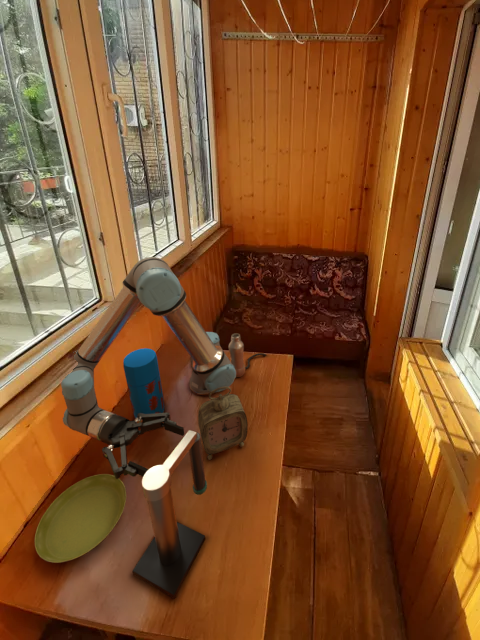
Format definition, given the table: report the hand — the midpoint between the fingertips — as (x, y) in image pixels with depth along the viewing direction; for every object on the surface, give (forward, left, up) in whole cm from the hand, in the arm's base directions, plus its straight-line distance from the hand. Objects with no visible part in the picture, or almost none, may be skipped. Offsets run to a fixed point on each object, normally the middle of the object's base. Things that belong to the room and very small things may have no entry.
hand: (167, 451), depth 86 cm
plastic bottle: (-44, -25, -16) cm, 53 cm away
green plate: (+20, -10, -16) cm, 28 cm away
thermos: (-8, -33, -16) cm, 37 cm away
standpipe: (+8, +14, -16) cm, 23 cm away
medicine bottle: (-37, -45, -16) cm, 60 cm away
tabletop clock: (-19, -1, -16) cm, 25 cm away
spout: (+3, +12, -10) cm, 15 cm away
